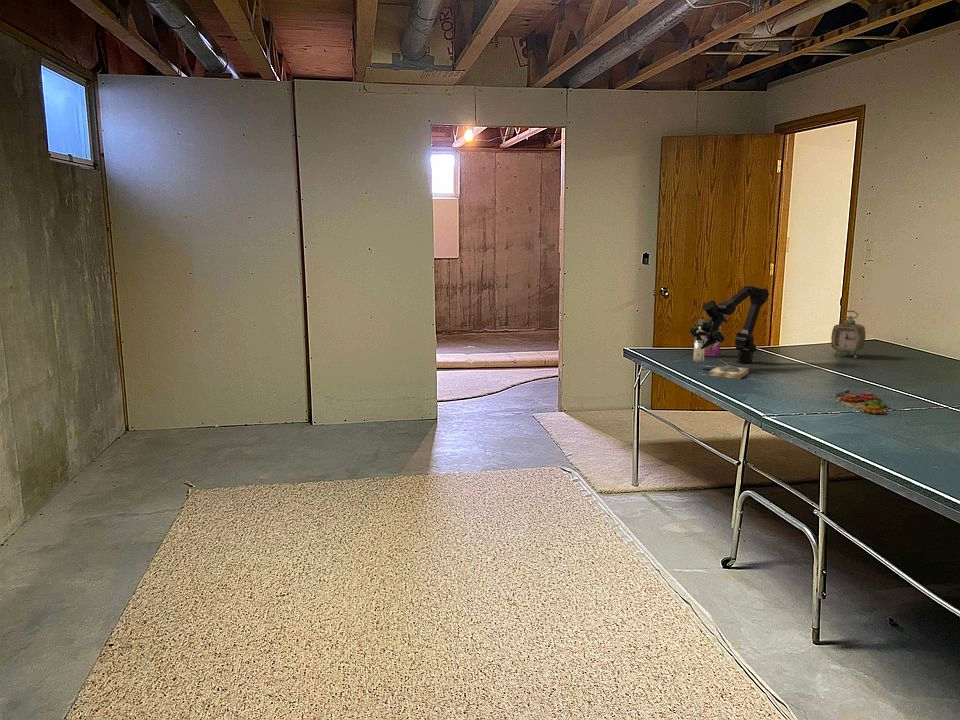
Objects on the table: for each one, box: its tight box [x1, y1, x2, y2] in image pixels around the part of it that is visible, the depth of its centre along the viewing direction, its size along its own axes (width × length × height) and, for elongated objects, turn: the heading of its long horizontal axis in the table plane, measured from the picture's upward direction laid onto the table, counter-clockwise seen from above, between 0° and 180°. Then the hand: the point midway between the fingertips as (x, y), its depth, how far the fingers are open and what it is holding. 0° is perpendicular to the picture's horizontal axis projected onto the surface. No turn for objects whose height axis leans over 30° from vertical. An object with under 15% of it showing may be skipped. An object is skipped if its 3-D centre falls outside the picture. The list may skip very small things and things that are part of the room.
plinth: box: [708, 365, 750, 380], centre depth 331 cm, size 14×18×2 cm
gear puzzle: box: [833, 387, 889, 415], centre depth 273 cm, size 31×16×4 cm, turn 165°
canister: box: [692, 339, 705, 363], centre depth 341 cm, size 5×5×10 cm
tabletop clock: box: [830, 310, 866, 359], centre depth 372 cm, size 14×9×25 cm, turn 43°
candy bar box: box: [698, 326, 722, 358], centre depth 377 cm, size 11×5×16 cm, turn 84°
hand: (697, 347), depth 340 cm, fingers closed on canister, 5 cm apart
